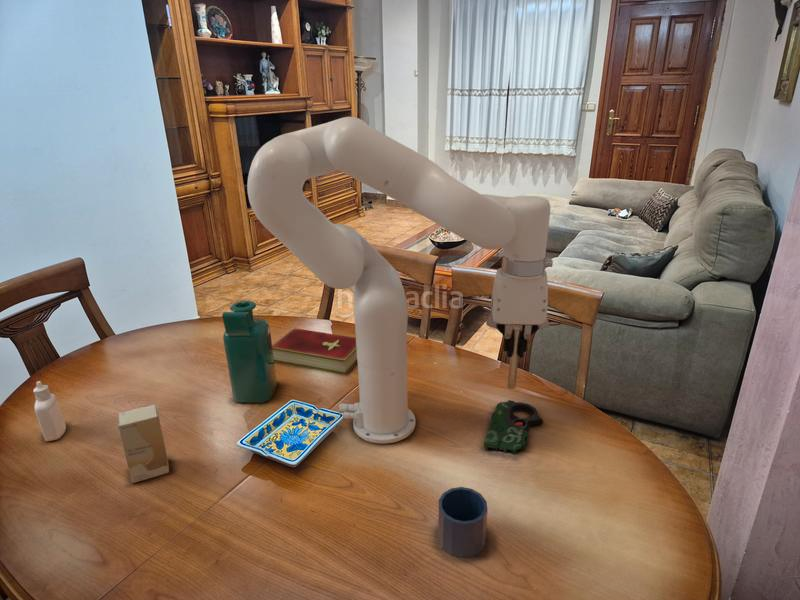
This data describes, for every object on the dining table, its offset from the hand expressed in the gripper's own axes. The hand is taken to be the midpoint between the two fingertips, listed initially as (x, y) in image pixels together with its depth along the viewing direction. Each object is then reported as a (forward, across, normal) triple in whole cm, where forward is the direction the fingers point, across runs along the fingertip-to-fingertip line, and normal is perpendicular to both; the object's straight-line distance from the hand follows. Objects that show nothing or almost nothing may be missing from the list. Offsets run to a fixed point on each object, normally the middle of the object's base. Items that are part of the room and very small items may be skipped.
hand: (514, 353), depth 100 cm
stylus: (+8, 0, 0) cm, 8 cm away
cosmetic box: (+16, +66, +19) cm, 71 cm away
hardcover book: (+15, +44, -24) cm, 53 cm away
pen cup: (+15, +11, +32) cm, 37 cm away
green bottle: (+16, +55, -6) cm, 58 cm away
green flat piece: (+15, -1, +5) cm, 16 cm away
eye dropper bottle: (+16, +91, +9) cm, 93 cm away
